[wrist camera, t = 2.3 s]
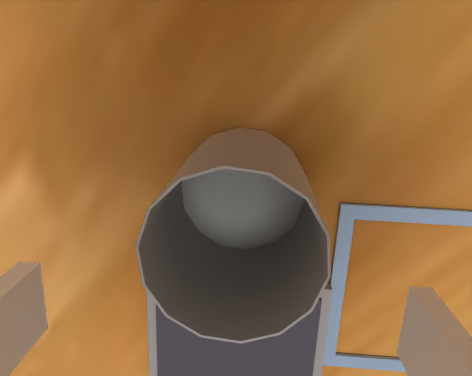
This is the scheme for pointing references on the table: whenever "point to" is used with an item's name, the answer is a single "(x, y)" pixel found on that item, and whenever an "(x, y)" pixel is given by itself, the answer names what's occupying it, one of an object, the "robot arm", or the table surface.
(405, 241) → the table surface
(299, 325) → the pad
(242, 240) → the cup
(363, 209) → the marked square
